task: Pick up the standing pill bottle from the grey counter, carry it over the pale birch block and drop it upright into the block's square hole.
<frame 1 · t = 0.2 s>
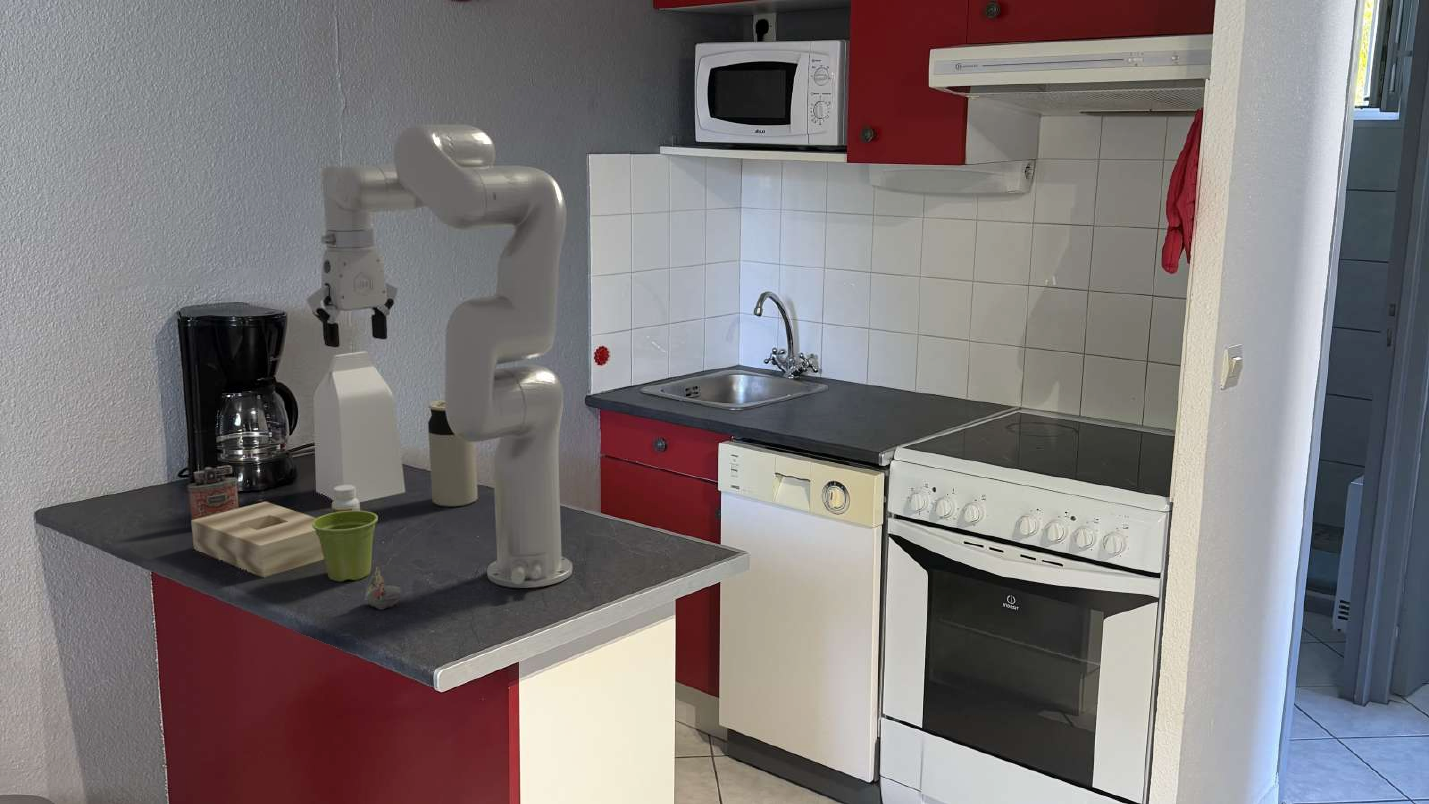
hand: (356, 342, 208), 30 cm above the counter, tool pointing down, fingers open, 9 cm apart
travel mug: (455, 502, 222), on the counter
pill bottle: (347, 533, 205), on the counter
milk: (360, 493, 228), on the counter
hole block: (265, 552, 195), on the counter
lighter: (216, 525, 209), on the counter
figurine: (383, 607, 173), on the counter
plant pot: (349, 576, 185), on the counter
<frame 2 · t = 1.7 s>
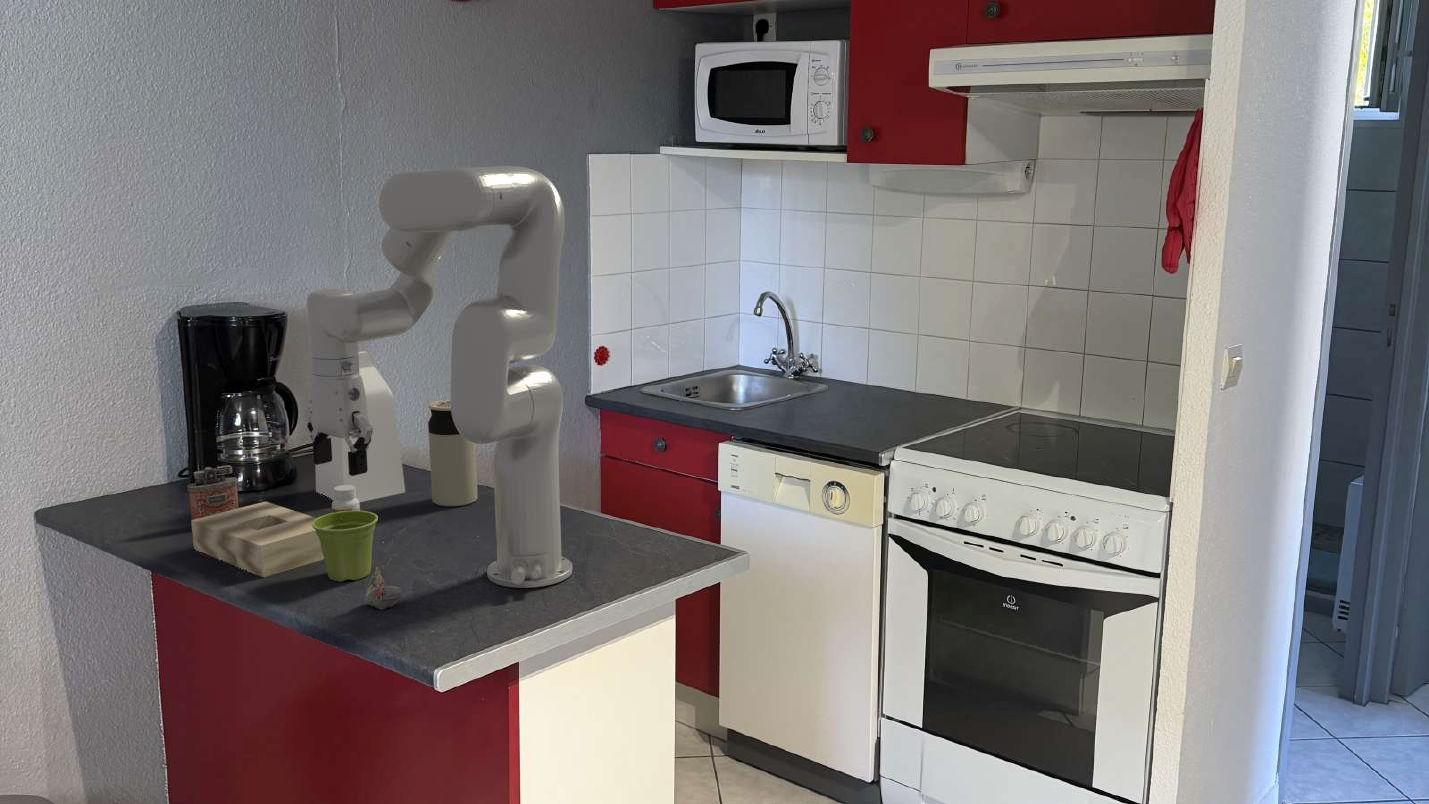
hand: (340, 468, 203), 11 cm above the counter, tool pointing down, fingers open, 9 cm apart
nothing on the counter moved.
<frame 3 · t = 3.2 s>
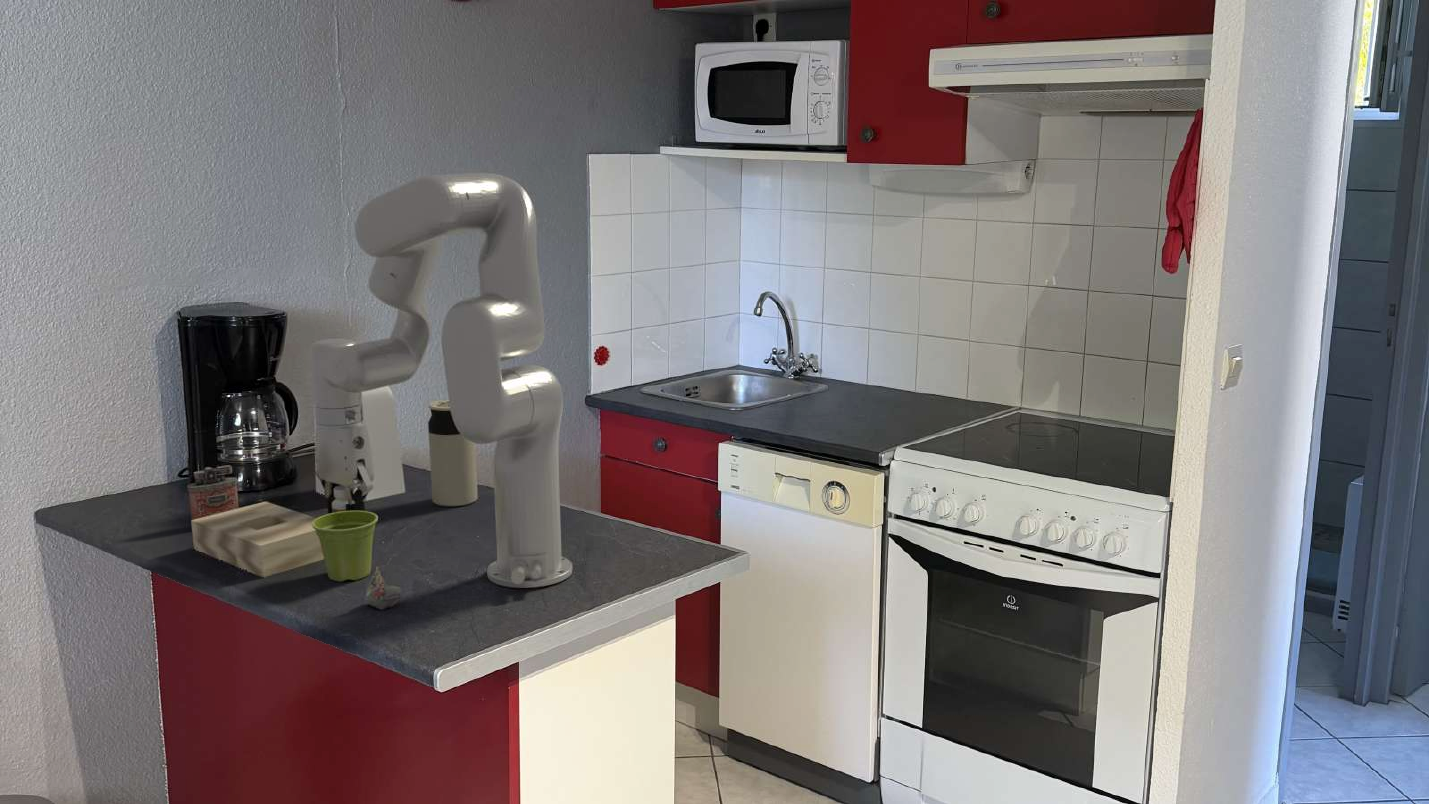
hand: (346, 521, 204), 2 cm above the counter, tool pointing down, fingers closed on pill bottle, 4 cm apart
pill bottle: (347, 533, 205), on the counter, touching gripper
everything else where it was.
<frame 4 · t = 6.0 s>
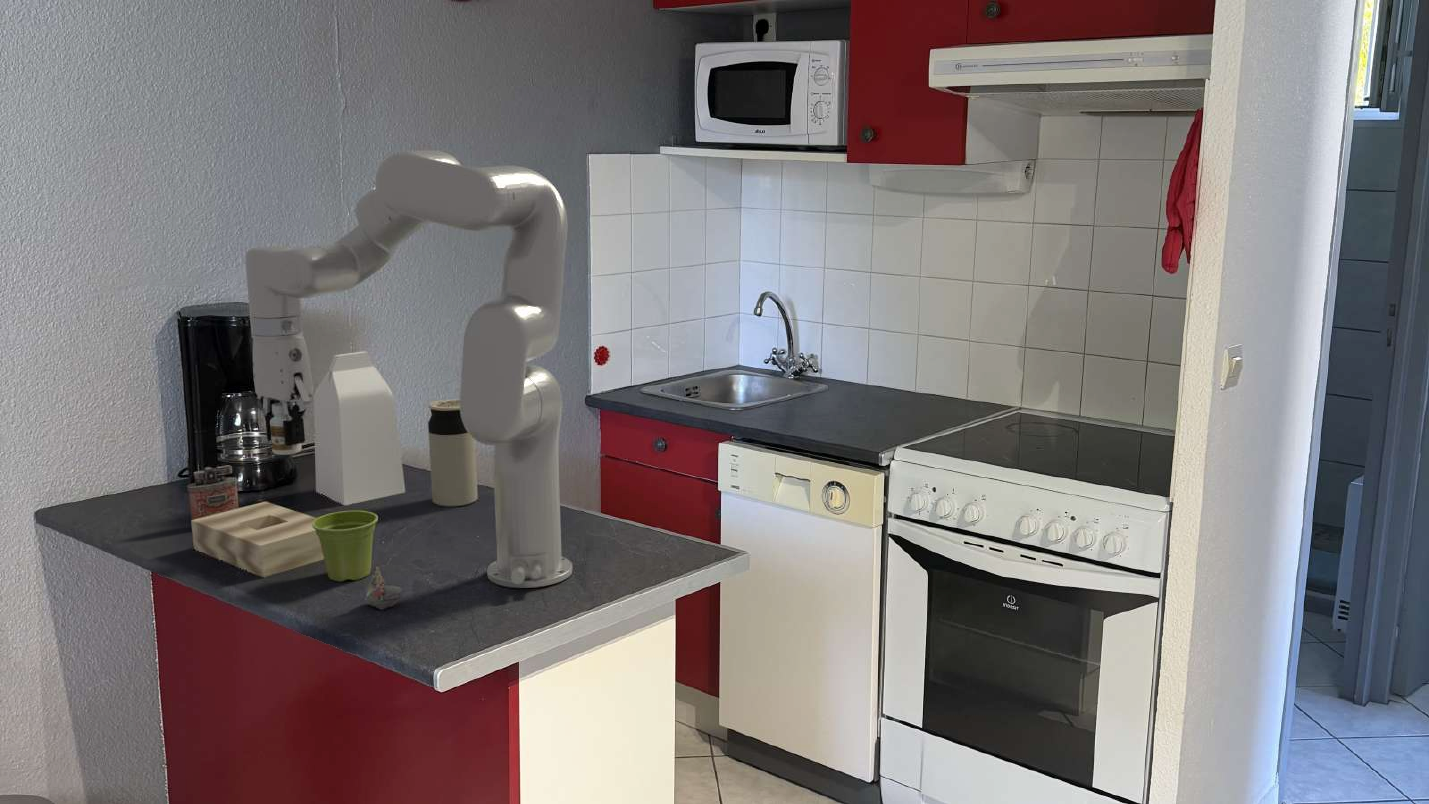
hand: (285, 440, 194), 17 cm above the counter, tool pointing down, fingers closed on pill bottle, 4 cm apart
pill bottle: (287, 452, 195), point 15 cm above the counter, touching gripper
everything else where it was.
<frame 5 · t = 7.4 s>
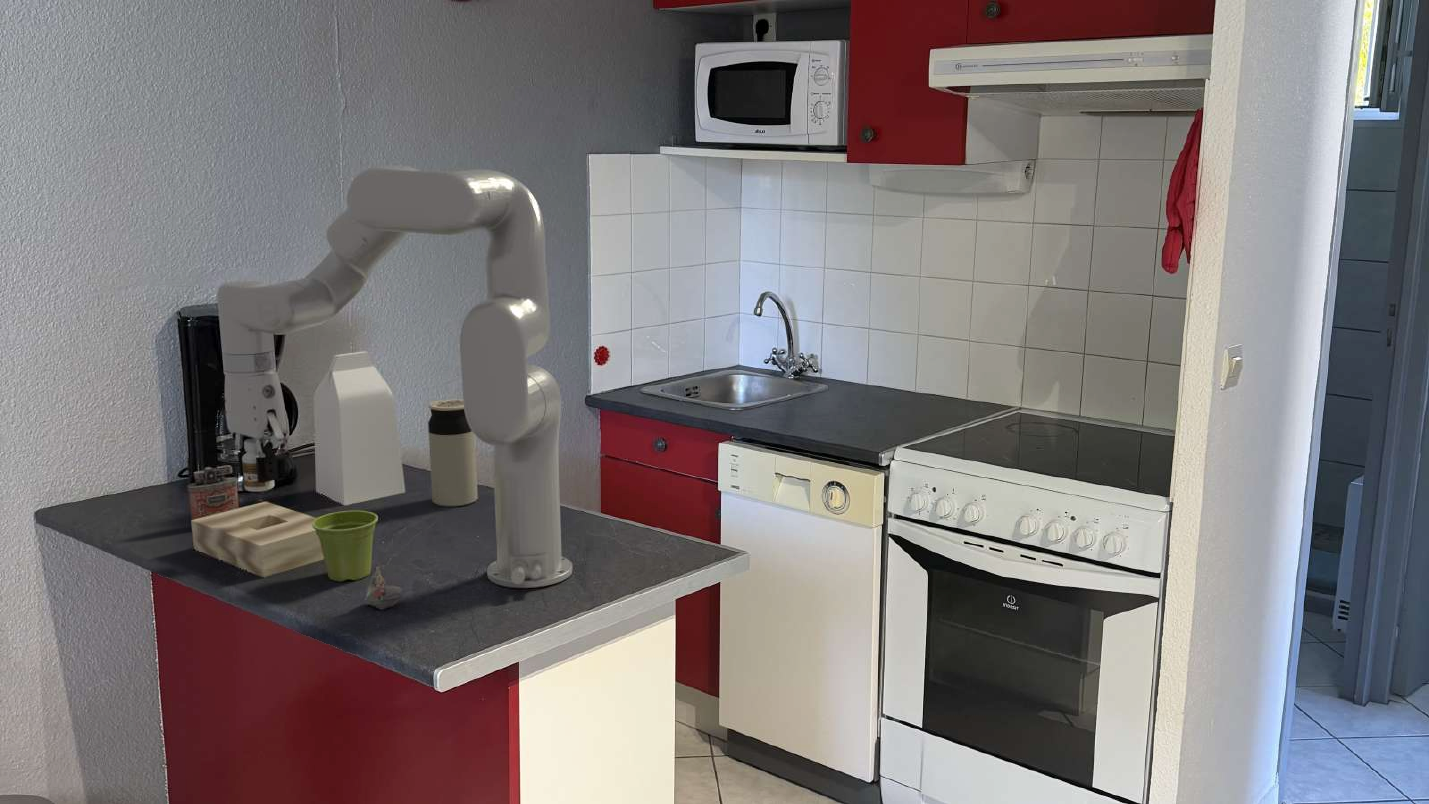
hand: (258, 476, 192), 12 cm above the counter, tool pointing down, fingers closed on pill bottle, 4 cm apart
pill bottle: (259, 489, 192), point 10 cm above the counter, touching gripper
everything else where it was.
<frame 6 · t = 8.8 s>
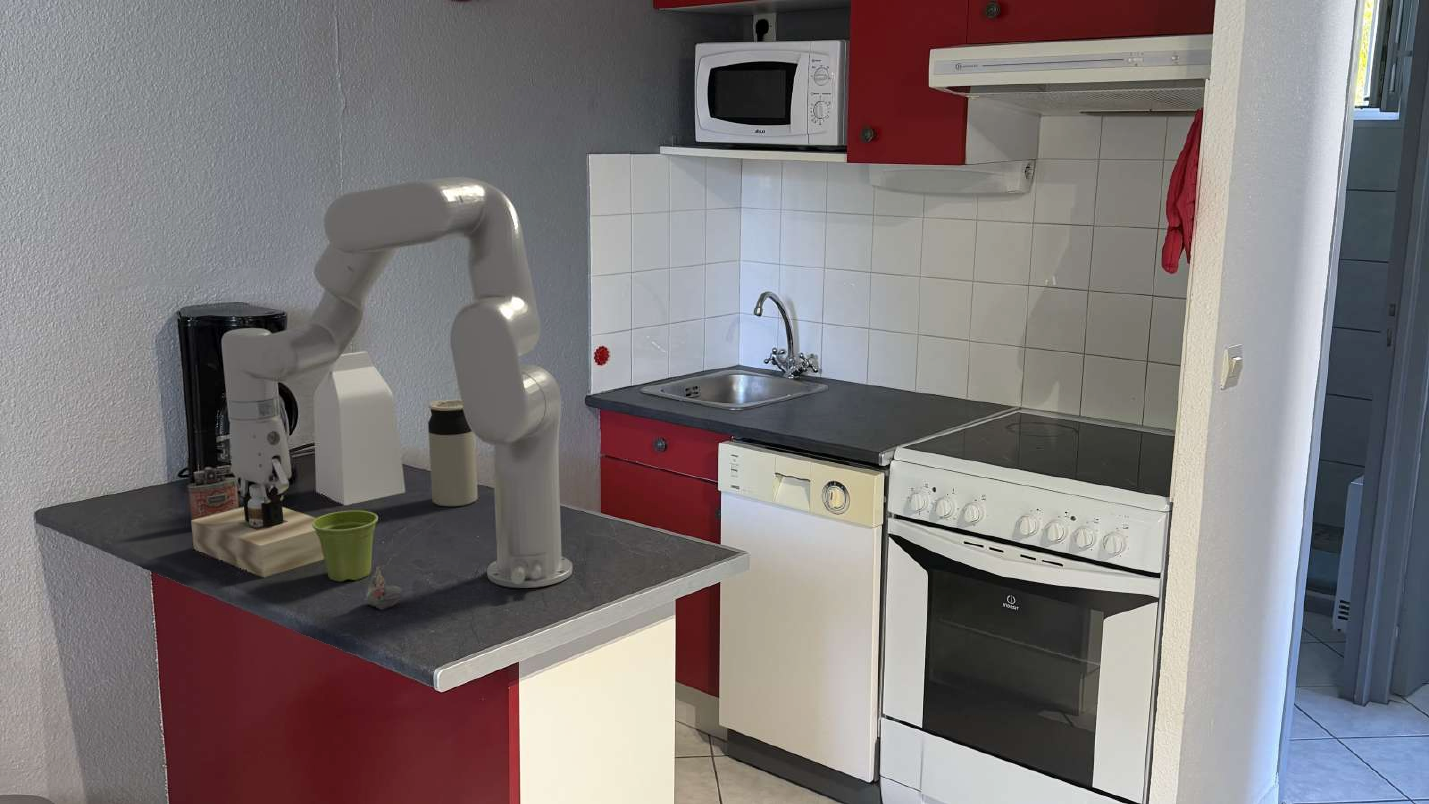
hand: (264, 521, 193), 5 cm above the counter, tool pointing down, fingers closed on pill bottle, 4 cm apart
pill bottle: (265, 534, 194), point 3 cm above the counter, touching gripper
everything else where it was.
when the fingers open (5 cm above the counter, at t = 9.0 s): pill bottle drops 3 cm, resting in hole block.
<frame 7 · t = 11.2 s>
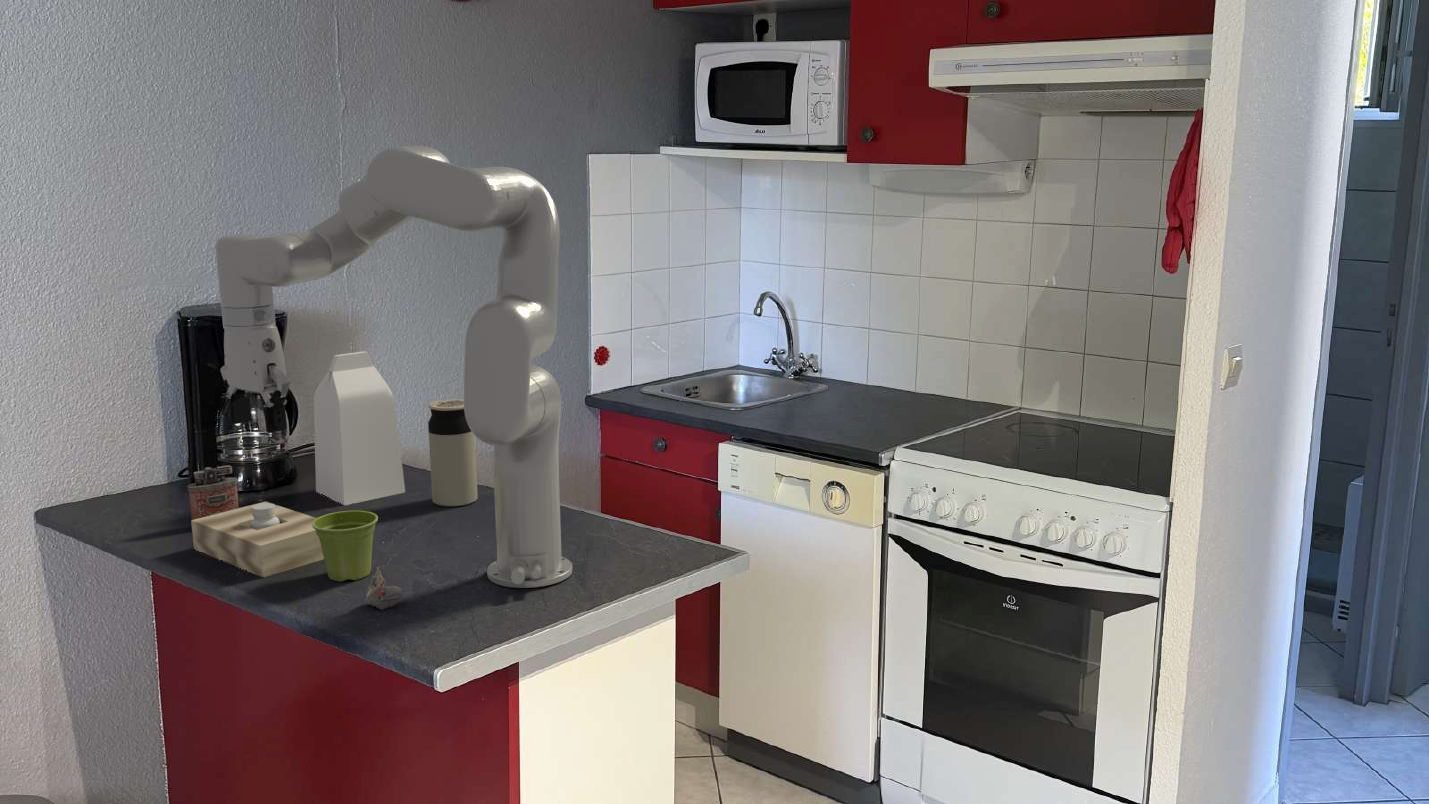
hand: (258, 426, 191), 20 cm above the counter, tool pointing down, fingers open, 9 cm apart
pill bottle: (267, 554, 195), resting in hole block
everything else where it was.
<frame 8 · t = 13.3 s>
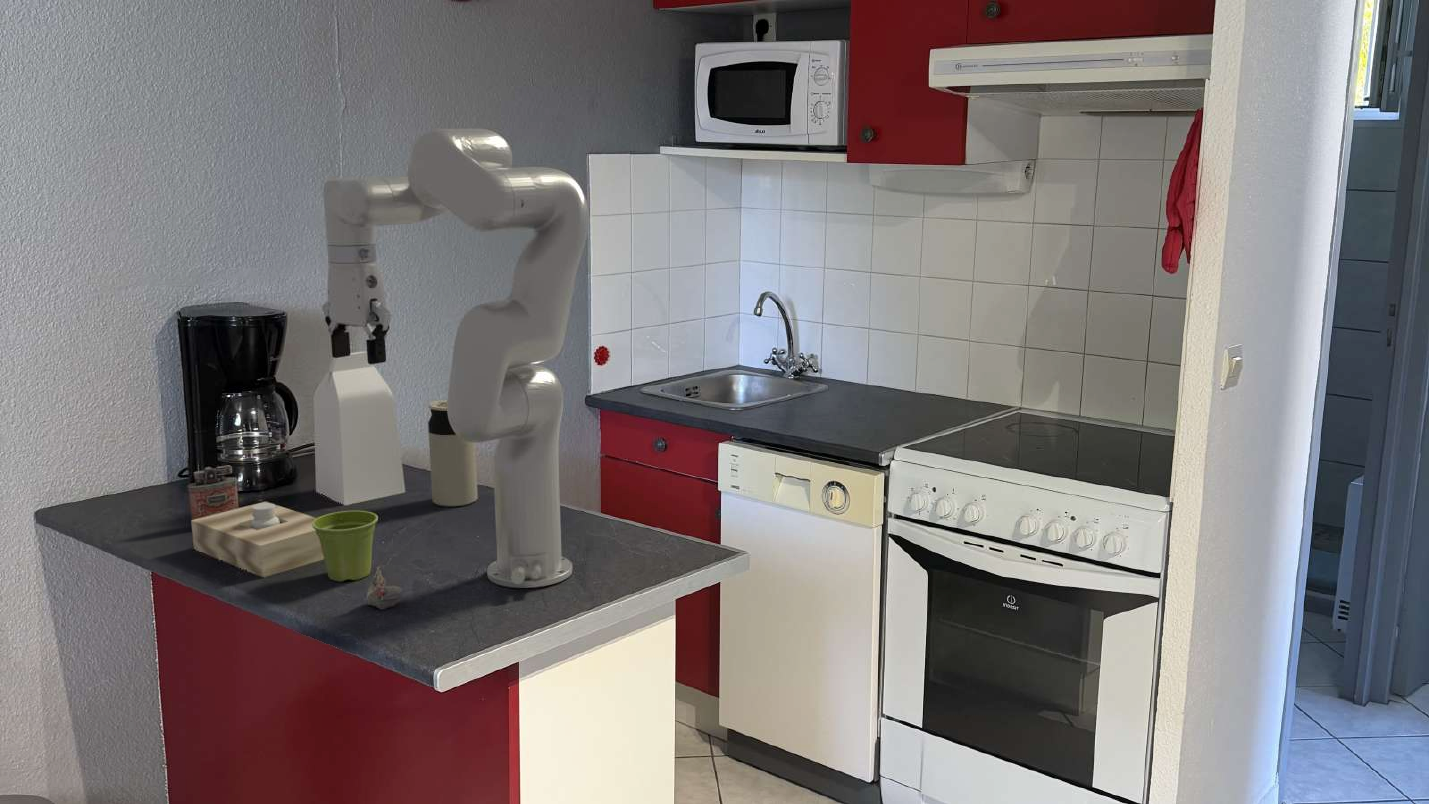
hand: (359, 359, 203), 28 cm above the counter, tool pointing down, fingers open, 9 cm apart
nothing on the counter moved.
at the end: pill bottle 0.4 cm off-centre on the hole block, point 0.0 cm above the hole block's base; pill bottle tilted 0°; the gripper is holding nothing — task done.
